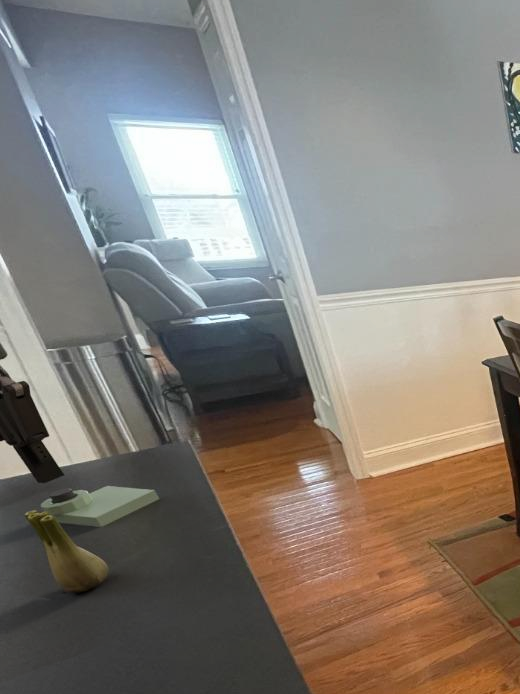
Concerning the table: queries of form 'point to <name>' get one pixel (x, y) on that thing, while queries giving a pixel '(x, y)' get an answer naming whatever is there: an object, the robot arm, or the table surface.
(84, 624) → the table surface
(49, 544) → the fennel bulb
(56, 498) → the scale button
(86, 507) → the scale
